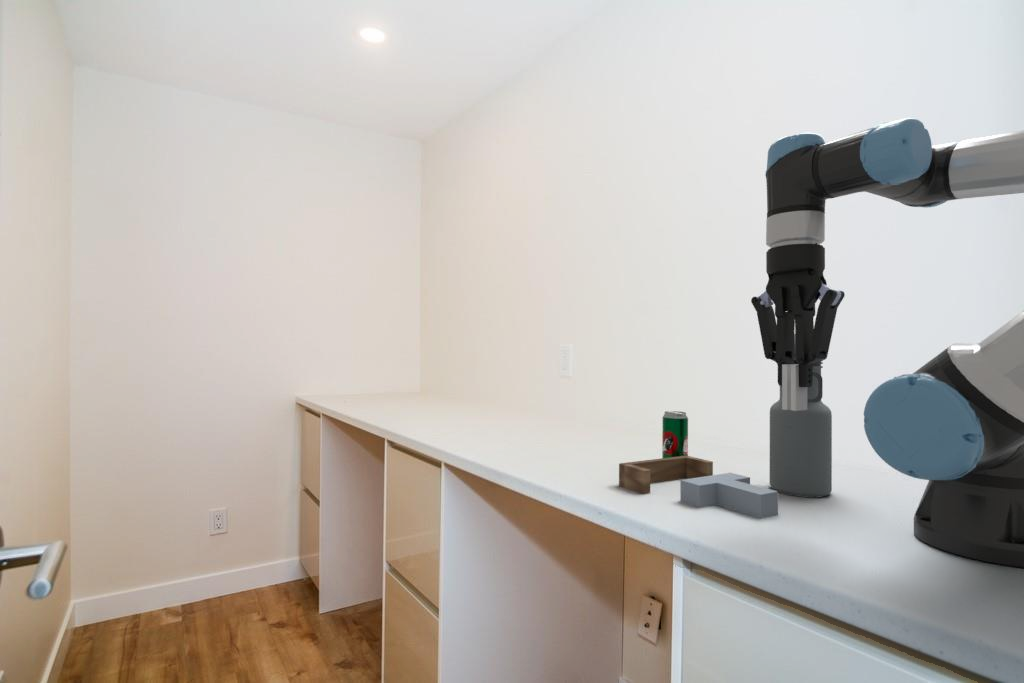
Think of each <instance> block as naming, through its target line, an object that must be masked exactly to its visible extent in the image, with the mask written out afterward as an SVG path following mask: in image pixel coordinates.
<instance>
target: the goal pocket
mask: <svg viewBox="0 0 1024 683" xmlns="http://www.w3.org/2000/svg"><path fill="white" fill-rule="evenodd" d="M711 475H714V461H712V460H708V459H703V458H699V457H694V456H691V455H688V456H678V457H670V458H662V457H661V458H653V459H645V460H637V461H631V462H629V461H628V462H620V463H618V486H620V487H623V488H625V489H628V490H631V491H634V492H637V493H639V494H642V495H644V494H645V495H647V494H651V484H656V483H662V482H670V481H675V480H684V479H691V478H697V477H704V476H711Z"/></svg>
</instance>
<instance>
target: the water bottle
mask: <svg viewBox="0 0 1024 683" xmlns="http://www.w3.org/2000/svg"><path fill="white" fill-rule="evenodd" d="M794 360H796V338H795V333H794ZM823 361H824V360H821V361H818V362H815V363H814V364H813V376H812V377H813V379H812V380H813V384H812V386H811V387H807V410H801V411H792V410H783V409H782V386H779V399H778V400H777V401H776V402H774V403H773V404H772V405H771V406H770V408H769V485H770V487H771V488H772V490H774V491H778V493H782V494H785V495H790V496H794V497H795V496H796V497H803V498H821V497H825V496H828V495H830V494H831V493H832V489H833V488H832V486H833V484H832V481H833V478H832V477H833V476H832V472H833V470H832V469H833V459H832V458H833V454H832V453H833V451H832V450H833V445H832V443H833V442H832V440H833V438H832V437H833V429H832V428H833V425H832V424H833V421H832V419H833V417H832V416H833V415H832V411H831V409H830V407H829V406H827V405H826V404H825V403H823V402H822V398H823V377H822V368H824V367H823V364H824V363H823Z"/></svg>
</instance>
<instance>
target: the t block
mask: <svg viewBox="0 0 1024 683" xmlns="http://www.w3.org/2000/svg"><path fill="white" fill-rule="evenodd" d="M679 483H680V488H679V489H680V490H679V491H680V494H679V495H680V499H679V500H680V502H681V503H685V504H688V505H691V506H693V507H696V508H706V507H709V506H711V507H712V506H715V505H718V506H721V507H724V508H727V509H730V510H734V511H737V512H739V513H742V514H747V515H749V516H752V517H756V518H759V519H764V518H769V517H772V516H778V514H779V492H778V491H776V490H775V489H770V488H766V487H763V486H762V487H761V486H758V485H755V484H751V477H749V476H745V475H742V474H737V473H733V472H726V473H719V474H713V475H711V476H704V477H697V478H691V479H688V478H685V479H680V482H679Z"/></svg>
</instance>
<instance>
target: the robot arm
mask: <svg viewBox="0 0 1024 683" xmlns="http://www.w3.org/2000/svg"><path fill="white" fill-rule="evenodd" d="M766 161H767V163H766V170H765V179H766V212H767V213H766V223H765V224H766V225H765V226H766V232H765V234H766V235H765V236H766V237H765V244H766V246H768V248H769V249H768V250H767V251H766V252H765V253H766V255H765V256H766V258H765V259H766V263H765V264H766V265H765V266H766V274H767V276H768V281H767V283H766V286H765V291H764V292H763V293H762V294H760V295H759V296H753V297H752V298H751V299H750V300H751V305H752V306H753V308H754V310H755V312H756V315H757V322H758V326H759V332H760V336H761V337H760V338H761V342H762V348H763V354H764V357H765V359H767V360H771V361H773V362H775V363H776V364H777V384H778V386H779V387H780V386H782V409H783V410H792V411H801V410H807V387H811V386H812V384H813V380H812V379H813V377H812V376H813V364H814V363H815V362H818V361H821V360H823V361H824V360H827V358H828V354H829V350H830V344H831V341H832V335H833V331H834V324H835V321H836V317H837V312H838V307H839V306H840V304H841V303H842V301H843V299H845V292H844V291H843V290H839V289H838V290H837V289H834V288H832V287H830V286H828V284H827V280H826V278H825V277H824V276H825V275H824V271H825V269H826V248H825V247H824V246H823V245H822V243H824V242H825V240H826V239H825V237H826V236H825V232H826V231H825V230H826V227H825V226H826V222H825V221H826V220H825V219H826V216H825V215H826V200H828V199H835V198H838V197H843V196H848V195H853V194H856V193H863V192H864V193H869V194H872V195H875V196H879V197H883V198H886V199H888V200H892V201H895V202H898V203H900V204H902V205H904V206H908V207H912V208H933V207H934V208H935V207H937V206H940V205H944V204H945V203H947V202H948V201H954V200H963V199H964V200H965V199H973V198H983V197H984V198H985V197H995V196H1006V195H1014V194H1024V130H1019V131H1012V132H1006V133H1000V134H994V135H990V136H985V137H984V136H983V137H979V138H978V137H977V138H972V139H966V140H962V141H958V142H957V141H955V142H949V143H943V144H938V145H932V139H931V136H930V133H929V131H928V129H927V128H926V127H925V125H924V123H923V122H922V121H921V120H920V119H917V118H914V117H907V118H906V117H905V118H902V119H899V120H898V119H897V120H893V121H890V122H889V121H888V122H883V123H880V124H876V125H875V126H874V127H871V128H867V129H865V130H862V131H859V132H856V133H853V134H852V133H851V134H849V135H847V136H843V137H841V138H838V139H835V140H832V141H827V142H826V140H825V138H824V137H823V136H822V135H820V134H818V133H814V132H802V133H797V134H794V135H793V134H791V135H786V136H782V137H781V138H779V139H777V140H775V141H774V142H773V143H772V144H771V145H770V146H769V148H768V151H767V160H766ZM818 300H820V302H819V304H818V307H817V310H816V303H817V301H818ZM773 305H774V308H773ZM815 316H816V317H815ZM814 317H815V321H814ZM794 334H795V338H796V360H794ZM821 362H822V361H821ZM863 423H864V425H863V428H864V433H865V435H866V438H867V440H868V442H869V444H870V445H871V447H872V449H873V450H874V452H875V453H876V454H877V456H879V458H880V459H881V460H882V461H883V462H884V463H886V464H887V465H888V466H889V467H891V468H892V469H894V470H896V471H897V472H899V473H901V474H903V475H906V476H909V477H912V478H914V479H917V480H925V481H928V482H927V484H926V487H925V489H924V492H923V494H922V495H921V496H922V497H921V498H920V501H919V504H918V506H917V508H916V511H915V513H914V515H913V516H914V517H913V534H914V536H915V537H916V538H917V539H919V540H920V541H921V542H924V543H925V544H928V545H930V546H932V547H934V548H937V549H940V550H942V551H945V552H949V553H951V554H954V555H955V554H956V555H958V556H962V557H966V558H970V559H974V560H978V561H982V562H988V563H993V564H997V565H1003V566H1004V565H1005V566H1013V567H1020V568H1024V310H1022V311H1021V312H1019V313H1018V315H1016V316H1014V317H1013V318H1012V319H1010V320H1009V321H1008V322H1006V323H1005V324H1003V325H1002V326H1000V328H998V329H997V330H995V331H993V333H991V334H990V335H988V336H987V337H986V338H984V339H983V340H981V341H980V342H978V343H952V344H951V345H949V346H948V347H947V348H945V349H944V350H942V351H941V352H940V353H939V354H937V355H936V356H935V357H933V358H932V359H930V360H929V361H928V362H926V363H925V364H924V365H922V366H921V367H920V368H919V369H917V370H915V371H914V372H913V373H906V374H901V375H898V376H893V378H891V379H889V380H886V381H884V382H882V383H881V384H880V385H878V386H877V387H876V388H875V389H874V390H873V391H872V393H871V394H870V395H869V397H868V399H867V401H866V403H865V406H864V410H863Z"/></svg>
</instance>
